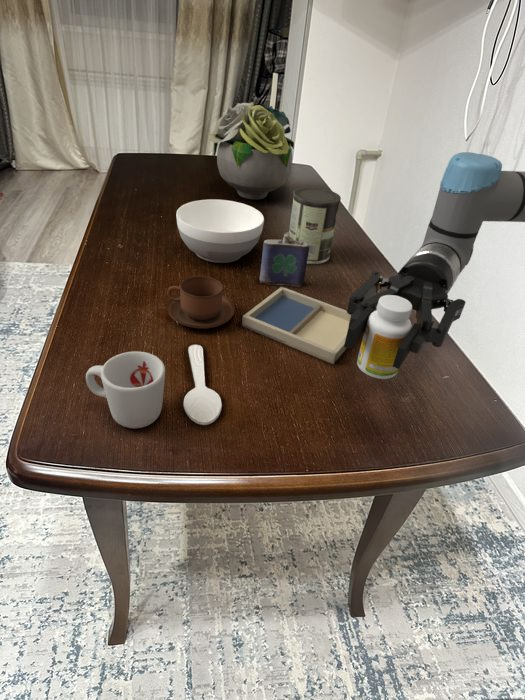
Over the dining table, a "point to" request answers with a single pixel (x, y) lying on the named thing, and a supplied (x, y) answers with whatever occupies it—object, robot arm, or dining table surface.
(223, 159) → the flower arrangement
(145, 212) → the dining table surface
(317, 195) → the coffee can
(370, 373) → the supplement bottle
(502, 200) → the robot arm
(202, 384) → the spoon
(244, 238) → the bowl
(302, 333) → the sorting tray
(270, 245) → the flask
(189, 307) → the cup and saucer
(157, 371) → the cup
